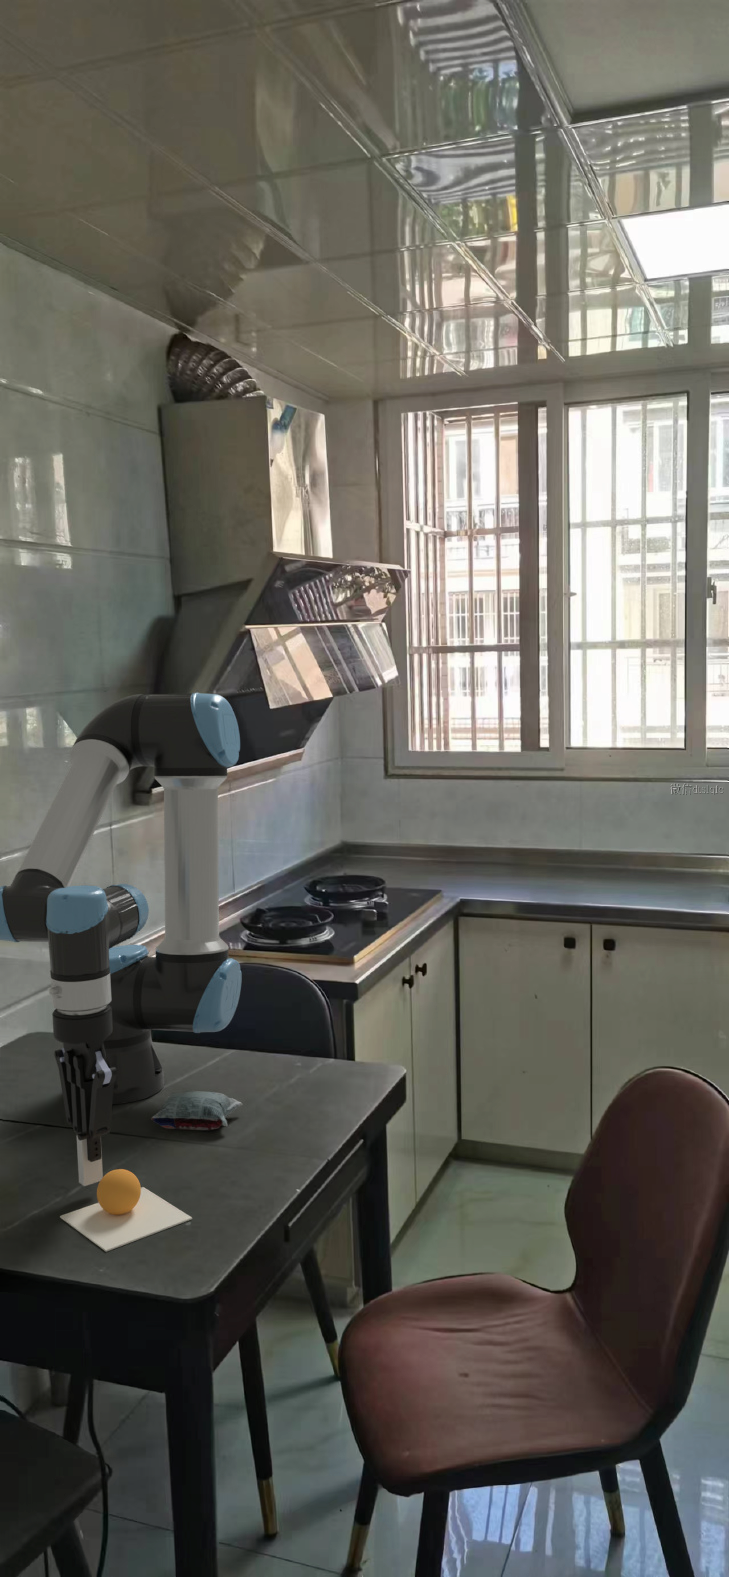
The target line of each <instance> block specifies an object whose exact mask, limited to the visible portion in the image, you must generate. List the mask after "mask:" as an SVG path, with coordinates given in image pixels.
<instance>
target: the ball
mask: <svg viewBox="0 0 729 1577" xmlns="http://www.w3.org/2000/svg"><path fill="white" fill-rule="evenodd" d="M141 1188H142V1187H141V1183H140V1180H139V1179H138V1177H137V1176H136V1175H135V1174H134V1173H133V1172H131V1171H130V1170H128V1169H123V1168H119V1169H113V1170H111V1171H109V1172H107V1173H105V1175H103V1178H102V1179H101V1181H99V1183H98V1185H97V1188H96V1199H97V1203H99V1204H100V1206H101V1207H102V1208H103V1209H104V1210H105V1211H106V1212H108V1213H110V1214H114V1215H121V1214H125V1213H127V1212H129V1211H130V1210H132V1209H133V1208H134V1207H135V1206H136V1204H137V1203H138V1201H139V1198H140V1195H141Z"/></svg>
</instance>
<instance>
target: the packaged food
mask: <svg viewBox="0 0 729 1577" xmlns="http://www.w3.org/2000/svg"><path fill="white" fill-rule="evenodd" d="M242 1106H243V1103H242V1102H241V1101H239V1100H237V1099H235V1098H233V1097H228V1095H225V1094H224V1093H220V1092H214V1091H207V1090H206V1091H205V1090H204V1091H203V1090H201V1091H199V1090H198V1091H197V1090H185V1091H179V1092H172V1093H170V1094H168V1097H167V1099H166V1100H165V1101H164V1103H163V1106H162V1108H161V1109H160V1110H159V1111H158V1112H157V1113H155V1114H154V1115H153V1116H151V1118H150V1120H151V1121H153V1122H154V1123H156V1124H158V1125H159V1126H160V1127H162V1128H163V1129H169V1130H171V1129H172V1130H188V1131H189V1130H190V1131H212V1130H216V1129H219V1128H221V1126H224V1127H226V1128H227V1127H228V1120H227V1119H226V1118H227V1117H228V1116H229V1115H230V1114H232V1113H233V1112H234V1111H235V1110H237V1108H238V1107H239V1108H240V1107H242Z"/></svg>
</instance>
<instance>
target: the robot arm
mask: <svg viewBox="0 0 729 1577" xmlns="http://www.w3.org/2000/svg"><path fill="white" fill-rule="evenodd" d="M233 710H234V709H233V708H232V706H231V704H230V703H229V701H228V700H227V699H226V698H225V697H223V696H222V695H220V694H217V693H204V692H203V693H200V692H192V693H168V694H167V693H165V694H164V693H163V694H160V693H159V694H157V693H156V694H145V693H144V694H143V693H139V694H132V695H129V696H124V697H123V698H121V699H118V700H116V701H114V702H112V703H111V704H109V705H108V706H107V707H105V708H104V709H103V710H101V711H100V712H99V713H98V714H96V715H95V716H94V717H93V718H92V719H91V720H90V721H89V723H87V724H86V726H84V728H83V729H82V730H81V731H80V733H79V735H78V736H77V737H76V740H75V741H74V743H73V745H72V748H70V749H71V750H70V752H69V761H70V766H69V768H68V771H67V772H66V775H65V776H64V778H63V780H62V782H61V784H60V786H59V788H58V790H57V792H56V794H55V796H54V798H53V800H52V802H51V804H50V806H49V807H48V808H49V809H48V810H47V812H46V814H45V817H44V818H43V820H42V822H41V824H40V826H39V828H38V830H37V832H36V834H35V836H34V839H33V840H32V842H31V844H30V847H29V849H28V850H27V852H26V854H25V856H24V858H23V860H22V863H21V864H20V867H19V868H18V871H17V873H16V874H15V876H14V878H13V880H12V882H11V884H10V885H9V886H7V885H1V886H0V941H4V942H5V941H6V942H13V943H20V942H24V943H25V942H31V943H32V942H33V943H36V942H38V943H39V942H41V943H48V953H49V965H50V970H49V972H50V987H49V989H48V994H50V995H51V1002H52V1004H51V1005H52V1007H53V1008H54V1010H53V1011H52V1014H51V1015H52V1016H51V1017H52V1030H53V1031H52V1033H53V1038H54V1039H55V1040H56V1041H57V1042H59V1043H62V1047H63V1048H60V1049H56V1050H54V1054H53V1055H54V1058H55V1061H56V1065H57V1067H58V1074H59V1080H60V1085H61V1093H62V1099H63V1105H64V1111H65V1118H66V1123H67V1124H68V1125H72V1130H73V1132H74V1134H76V1150H77V1170H78V1183H79V1184H81V1185H82V1186H83V1187H86V1186H90V1185H92V1184H95V1183H98V1182H100V1181H101V1179H102V1178H103V1177H104V1174H103V1153H102V1150H103V1149H102V1136H103V1135H106V1134H109V1133H110V1132H111V1123H112V1114H113V1113H112V1111H113V1105H120V1104H126V1103H132V1102H137V1101H140V1100H144V1099H146V1098H149V1097H152V1096H153V1095H155V1094H157V1093H158V1092H160V1091H161V1090H162V1089H163V1088H164V1086H165V1076H164V1074H165V1073H164V1068H163V1066H162V1064H161V1060H160V1058H159V1056H158V1053H157V1051H156V1048H155V1045H154V1043H153V1040H152V1030H154V1031H176V1032H193V1033H195V1034H200V1033H215V1032H220V1031H222V1030H224V1029H225V1028H226V1027H228V1025H229V1024H230V1023H231V1021H232V1019H233V1018H234V1015H235V1014H236V1010H237V1008H238V1004H239V1000H240V997H241V996H240V995H241V988H242V977H243V976H242V971H241V965H240V963H239V962H238V961H237V960H235V959H234V958H231V957H230V958H229V945H228V944H227V943H226V942H225V941H224V940H223V939H222V938H221V936H220V926H219V925H220V922H219V920H220V919H219V918H220V917H219V914H220V913H219V911H220V907H219V906H220V905H219V904H220V903H219V902H220V901H219V897H220V895H219V788H220V786H221V785H222V784H223V783H224V782H225V781H226V780H227V778H228V768H229V767H230V768H231V767H233V766H235V765H236V764H237V762H238V761H239V757H240V755H239V754H240V753H239V752H240V751H241V737H240V730H239V723H238V720H237V718H236V715H235V712H234V711H233ZM138 767H139V768H140V767H153V768H154V770H153V772H154V774H153V775H154V779H155V780H156V782H158V783H159V784H160V785H161V787H162V788H163V816H164V817H163V821H164V822H163V823H164V824H163V825H164V829H163V831H164V833H163V834H164V835H163V836H164V837H163V838H164V842H163V843H164V846H163V847H164V938H163V940H162V941H161V942H160V943H159V944H158V945H157V946H156V947H155V956H149V955H150V954H149V951H148V950H149V949H148V948H147V946H145V945H141V944H127V945H126V944H125V945H120V944H121V943H123V942H125V941H127V940H130V939H131V938H133V937H134V936H135V935H136V934H137V933H138V932H140V931H141V930H142V929H143V928H144V927H145V925H146V924H147V921H148V919H149V915H150V914H149V913H150V912H149V911H150V908H149V903H148V901H147V898H146V896H145V895H144V894H143V893H142V891H141V890H140V889H138V888H137V887H135V886H133V885H132V884H128V883H119V884H111V885H109V886H107V887H106V888H101V887H100V886H97V885H89V884H88V885H83V884H81V885H71V884H72V882H73V879H74V878H75V875H76V873H77V871H78V869H79V866H80V864H81V862H82V860H83V858H84V856H85V853H86V851H87V850H88V847H89V845H90V842H91V840H92V838H93V836H94V834H95V832H96V829H97V827H98V825H99V822H100V820H101V818H102V817H103V814H104V812H105V810H106V807H107V805H108V803H109V800H110V799H111V797H112V795H113V792H114V790H115V788H116V785H118V784H121V783H122V782H124V781H125V780H126V778H127V777H128V775H129V774H130V771H131V770H132V769H135V768H138ZM117 945H119V946H117Z"/></svg>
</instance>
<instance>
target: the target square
mask: <svg viewBox="0 0 729 1577" xmlns="http://www.w3.org/2000/svg"><path fill="white" fill-rule="evenodd" d="M59 1218H60V1219H61V1220H63V1221H64V1222H65V1223H67V1224H68V1225H69V1226H71V1227H72V1228H73V1229H75V1230H76V1231H77V1232H79V1234H81V1235H83V1236H84V1237H85V1238H87V1239H89V1241H90V1242H92V1243H93V1244H95V1245H96V1246H98V1247H99V1248H100V1249H102V1250H103V1251H104V1252H106V1253H107V1252H109V1251H112V1250H115V1249H117V1248H120V1247H122V1246H125V1245H128V1244H130V1243H133V1242H135V1241H139V1240H141V1239H144V1238H147V1237H149V1236H152V1235H155V1234H156V1233H159V1232H162V1231H165V1230H167V1229H168V1230H169V1228H173V1227H175V1226H178V1225H180V1224H183V1223H187V1222H188V1221H191V1220H193V1217H192V1216H190V1215H189V1214H187V1213H186V1212H184V1211H182V1209H179V1208H178V1207H176V1206H174V1205H173V1204H171V1203H170V1202H168V1201H166V1200H165V1199H163V1198H162V1197H160V1196H159V1195H157V1194H155V1193H154V1192H152V1191H150V1190H149V1189H147V1188H145V1187H144V1186H142V1187H141V1195H140V1198H139V1201H138V1203H137V1204H136V1206H135V1207H134V1208H133V1209H132V1210H130V1211H129V1212H127V1213H125V1214H121V1215H114V1214H110V1213H108V1212H106V1211H105V1210H104V1209H103V1208H102V1207H101V1206H100V1204H99V1202H97V1203H94V1204H91V1205H88V1206H85V1207H82V1208H80V1209H76V1210H73V1211H71V1212H68V1213H65V1214H62V1215H60V1216H59Z"/></svg>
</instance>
